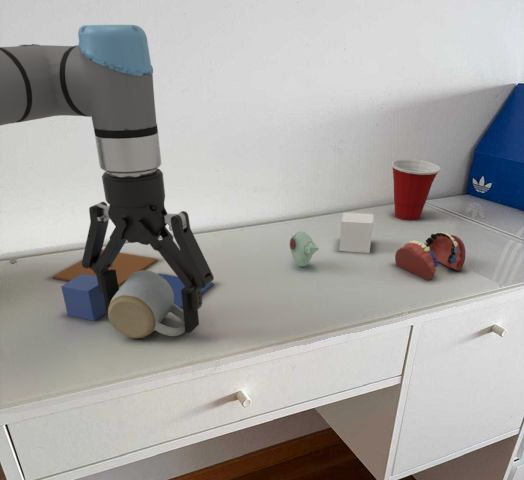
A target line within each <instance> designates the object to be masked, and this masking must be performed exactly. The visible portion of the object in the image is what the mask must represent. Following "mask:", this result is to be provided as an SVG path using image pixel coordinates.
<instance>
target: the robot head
mask: <svg viewBox="0 0 524 480" xmlns="http://www.w3.org/2000/svg"><path fill="white" fill-rule="evenodd" d="M289 249H290V254H291V257H292V259H293V260H294V262H295V263H296V264H297V265H298V266H299V267H301V268H302V267H307V266H308V265H309V263H310V262H311V260H312V257H313V255H314V254H315V253H316V252H317V251H319V250H320V248H319V246H318V245H317V244H316V243H315V242H314V240H313V238H312V236H311V235H309V234H308V233H307V232H305V231H301V230H299V231H296V232H294V233H293V234H291V236H290V240H289Z"/></svg>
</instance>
